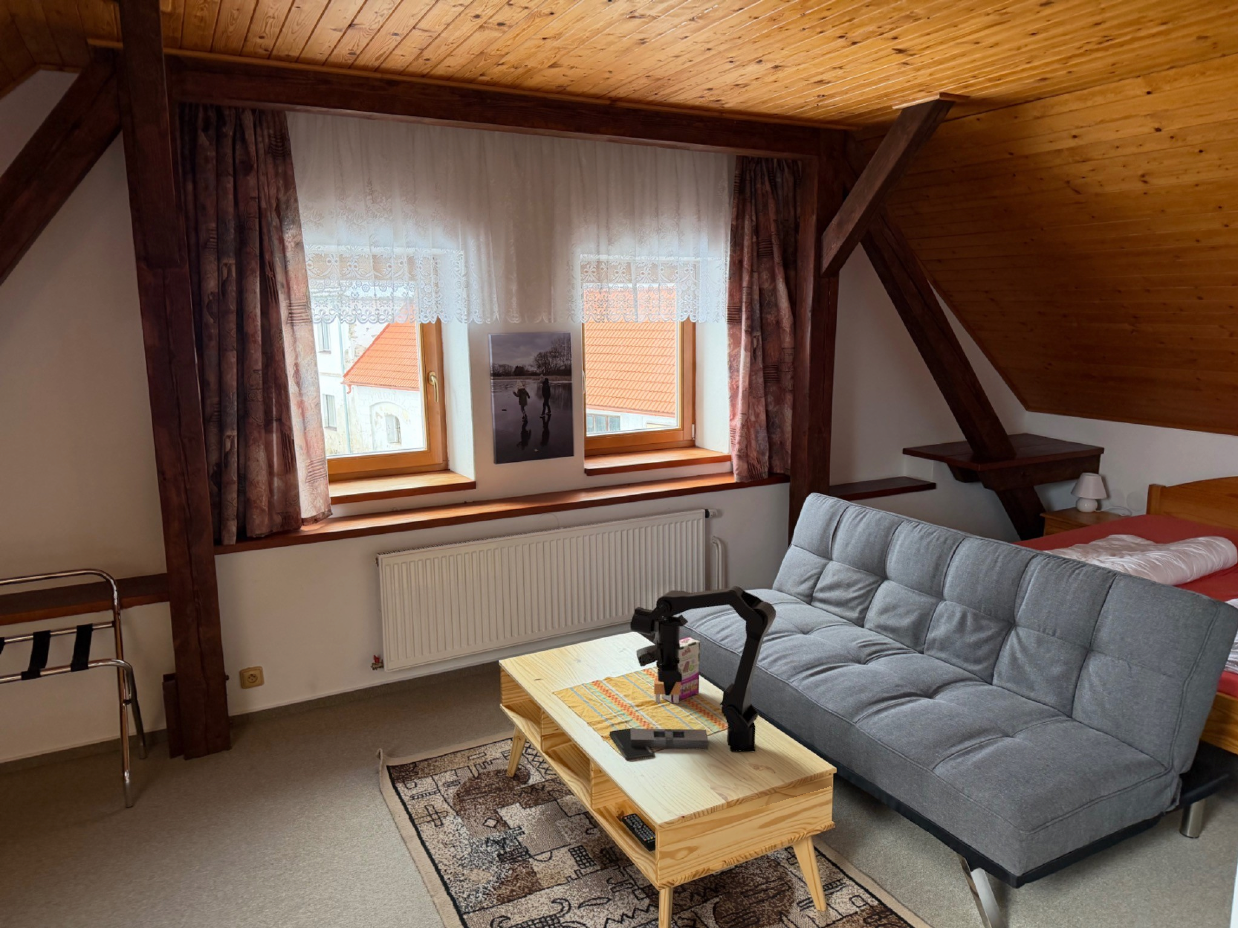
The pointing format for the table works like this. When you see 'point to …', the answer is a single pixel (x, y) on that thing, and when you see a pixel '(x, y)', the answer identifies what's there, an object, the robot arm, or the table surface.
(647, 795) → the table surface
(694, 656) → the candy bar box
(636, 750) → the phone
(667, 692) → the robot arm
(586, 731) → the table surface
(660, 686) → the clip
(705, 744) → the rail
